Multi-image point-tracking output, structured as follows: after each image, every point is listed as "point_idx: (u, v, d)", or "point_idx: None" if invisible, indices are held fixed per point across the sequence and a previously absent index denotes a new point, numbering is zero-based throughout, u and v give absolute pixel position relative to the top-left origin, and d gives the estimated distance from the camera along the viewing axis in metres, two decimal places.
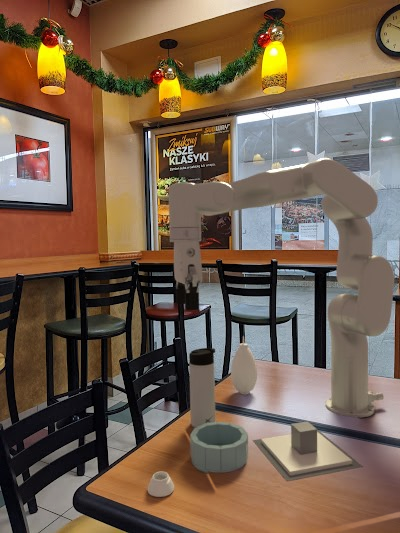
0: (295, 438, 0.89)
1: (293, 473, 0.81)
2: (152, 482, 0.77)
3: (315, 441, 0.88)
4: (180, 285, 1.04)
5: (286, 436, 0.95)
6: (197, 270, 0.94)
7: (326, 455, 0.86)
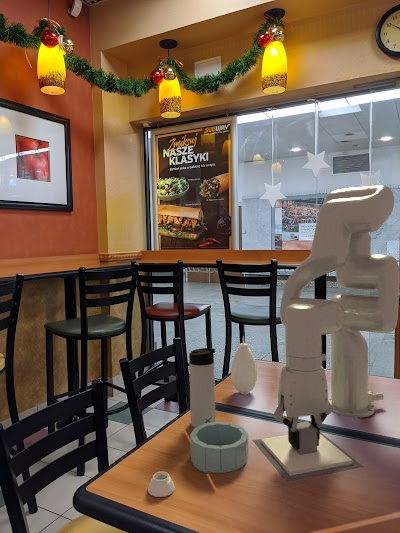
0: None
1: (293, 473, 0.81)
2: (152, 482, 0.77)
3: (315, 441, 0.88)
4: None
5: (286, 436, 0.95)
6: None
7: (326, 455, 0.86)
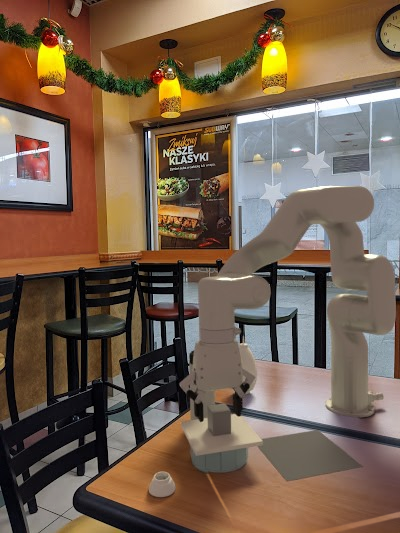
0: (210, 420, 0.87)
1: (199, 453, 0.80)
2: (153, 482, 0.77)
3: (229, 422, 0.86)
4: None
5: (206, 419, 0.94)
6: None
7: (239, 436, 0.85)
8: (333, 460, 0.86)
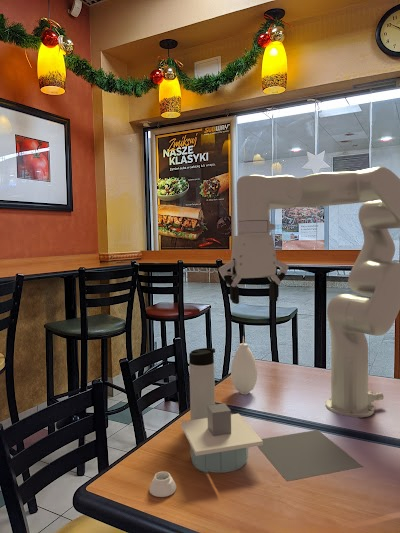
0: (210, 420, 0.87)
1: (199, 453, 0.80)
2: (154, 482, 0.77)
3: (229, 422, 0.86)
4: None
5: (206, 419, 0.94)
6: None
7: (239, 436, 0.85)
8: (333, 460, 0.86)
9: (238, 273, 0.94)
